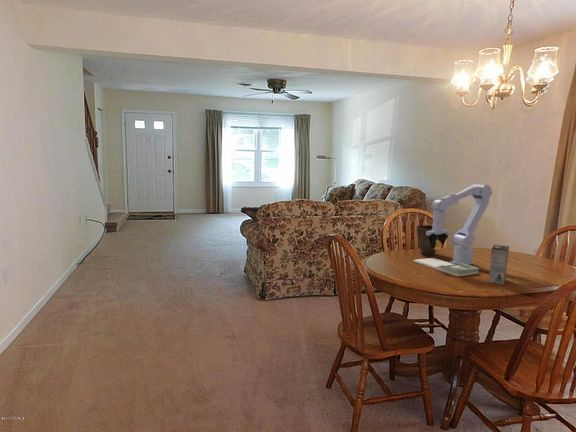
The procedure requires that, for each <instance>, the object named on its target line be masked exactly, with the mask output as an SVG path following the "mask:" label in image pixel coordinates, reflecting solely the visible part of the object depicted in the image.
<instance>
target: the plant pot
mask: <svg viewBox="0 0 576 432" xmlns="http://www.w3.org/2000/svg"><path fill="white" fill-rule="evenodd" d="M432 228H433V225H427V224H426V225H423V224H422V225H416V236H417V237H416V238H417V243H418V247H419V250H420V253H421V254H422V255H425V256H434V255H435V253H436V251H437V250H435V249H433V248H431V245H430V241H429V239H428V237H427V235H426V231H431V230H432ZM435 236H437V237H438V235H435ZM436 241H439V239H438V238H437V240H436Z"/></svg>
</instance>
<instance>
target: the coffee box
mask: <svg viewBox="0 0 576 432" xmlns="http://www.w3.org/2000/svg"><path fill="white" fill-rule="evenodd" d="M509 247H510V246H509V245H508V246H507V245H499V244H494V245H493V246H492V248H491V255H490V256H491V257H490V266H489V276H488V277H489V278H488V282H489V283H494V284H499V285H504V284H505V282H506V279H507V277H506V275H507V267H508V257H509V249H510V248H509Z"/></svg>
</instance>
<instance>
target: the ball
mask: <svg viewBox="0 0 576 432" xmlns="http://www.w3.org/2000/svg"><path fill="white" fill-rule="evenodd" d="M441 247H442V243H441V242H440V241H436V245H435V250H436V251H439V250H441V249H442V248H441Z"/></svg>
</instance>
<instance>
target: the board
mask: <svg viewBox="0 0 576 432" xmlns="http://www.w3.org/2000/svg"><path fill="white" fill-rule="evenodd" d="M413 263H417V264H419V265H421V266H426V267H428V268H432V269H434V270H438V271H440V272H443V273H446V274H449V275H452V276H455V277H463V276H470V275H478V274H479V270H480V268H479V267H476V266H472V265H471V264H469V265H467V264H463V263H460V265H458V264H455V263H451V262H450V261H444V260H442V259H438V258H435V257H430V258H428V257H427V258H419V259H418V258H417V259H413Z"/></svg>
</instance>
